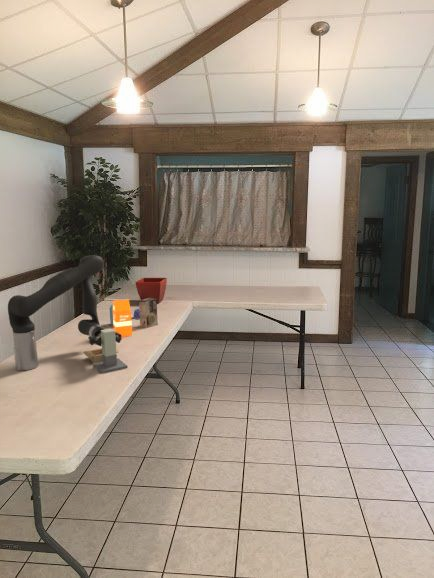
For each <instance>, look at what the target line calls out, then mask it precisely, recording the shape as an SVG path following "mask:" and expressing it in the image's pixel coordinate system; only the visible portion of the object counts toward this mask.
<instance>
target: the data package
mask: <svg viewBox="0 0 434 578" xmlns="http://www.w3.org/2000/svg"><path fill="white" fill-rule="evenodd" d="M109 319H110V325H112V326H114V324H113V304H111V305H110V306H109Z"/></svg>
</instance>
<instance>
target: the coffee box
mask: <svg viewBox="0 0 434 578" xmlns="http://www.w3.org/2000/svg"><path fill="white" fill-rule="evenodd" d="M157 305H158V303H157V301H156V299H154V298H147V299H143V300H141V299H139V300H138V309H139V312H140V319H139V326H140V327H143V328H147V329H148V328H150V327H153V326H157V325H159V321H158V306H157Z"/></svg>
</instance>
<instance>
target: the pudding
mask: <svg viewBox="0 0 434 578" xmlns="http://www.w3.org/2000/svg"><path fill="white" fill-rule="evenodd" d="M131 319H134V320H137V319H138V320H140V312H139V308H136V309H134V312H133V314H131Z"/></svg>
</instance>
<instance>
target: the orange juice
mask: <svg viewBox="0 0 434 578" xmlns="http://www.w3.org/2000/svg"><path fill="white" fill-rule="evenodd" d="M112 301H113V302H112V305H113V324H114V325H113V330H114V331H115V332H118V333H119V334H121V338H122V337H129V336H130V337H132V336H133V324H132V323H133V321H132V318H131V316H132V310H131V305H130V299H129V298H128V299H121V300H119V299H118V300H112Z"/></svg>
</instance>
